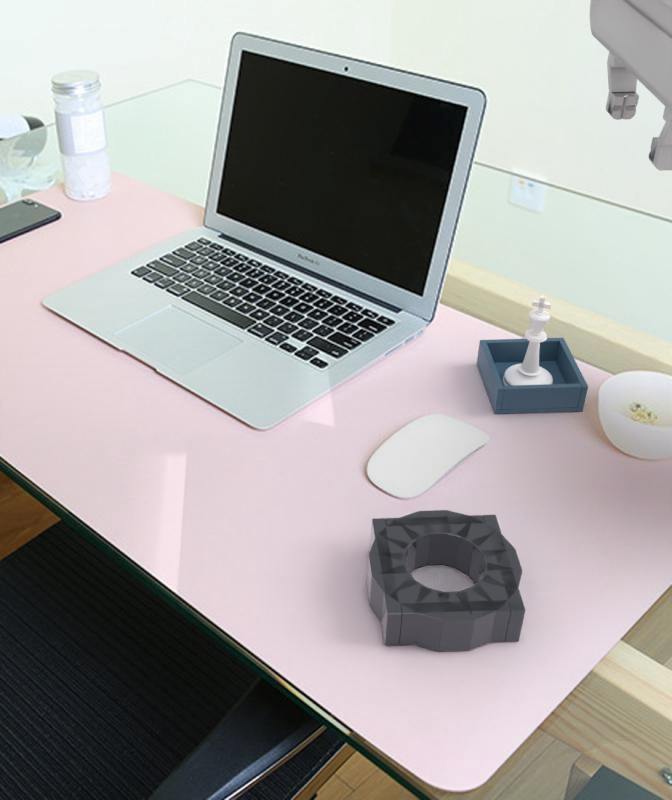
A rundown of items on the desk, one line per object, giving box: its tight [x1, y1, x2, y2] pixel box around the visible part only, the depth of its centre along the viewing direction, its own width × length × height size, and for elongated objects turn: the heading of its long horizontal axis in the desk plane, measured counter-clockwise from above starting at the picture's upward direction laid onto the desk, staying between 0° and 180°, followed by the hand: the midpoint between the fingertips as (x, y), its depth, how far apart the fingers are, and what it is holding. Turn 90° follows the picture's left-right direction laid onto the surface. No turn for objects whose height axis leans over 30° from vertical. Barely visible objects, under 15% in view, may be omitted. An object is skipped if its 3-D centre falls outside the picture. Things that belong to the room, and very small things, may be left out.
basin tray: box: [476, 337, 589, 415], centre depth 96 cm, size 9×9×3 cm
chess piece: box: [503, 295, 553, 386], centre depth 93 cm, size 5×5×10 cm
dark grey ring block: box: [366, 509, 526, 653], centre depth 74 cm, size 11×11×4 cm
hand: (640, 139), depth 68 cm, fingers open, 8 cm apart
